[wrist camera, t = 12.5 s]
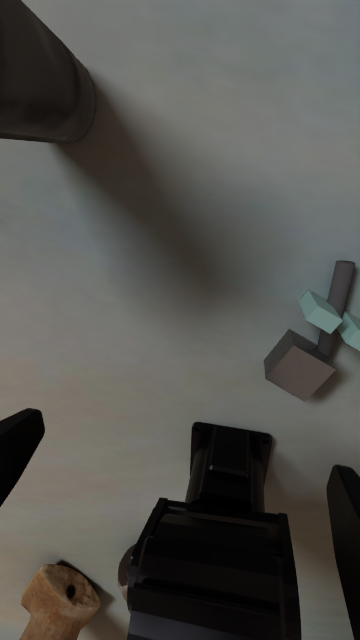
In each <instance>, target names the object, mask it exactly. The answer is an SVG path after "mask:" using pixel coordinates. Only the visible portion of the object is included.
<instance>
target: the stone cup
mask: <svg viewBox="0 0 360 640" xmlns="http://www.w3.org/2000/svg"><path fill="white" fill-rule="evenodd" d="M21 604H22V606H23V607H24V608H25V609H26V610H27V611H29V612H30V613H31V617H30V621H29V623H28V625H27V627H26V629H25V631H24V632H23V634H22V636H21V638H20V640H77V638H78V635H79V632H80V630H81V629H82V628H83V627H84V626H85V625H86V624H87V623H88V621H89V620H90V619H91V618H92V616H93V615H94V614H95V612H96V611H97V610H98V609H99V608H100V606H101V601H100V599H99V597H98V595H97V594H96V592H95V591H94V589H93V587H92V586H91V585H90V583H89V582H88V581H87V579H86V578H85V577H84V576H83V575H82V574H80V573H78V572H77V571H75V570H74V569H70V568H69V567H65V566H61V565H53V564H46V565H43V566H42V567H41V568H40V569H39V570H38V571H37V572H36V573H35V575H34V576H33V578H32V579H31V581H30V582H29V584H28V586H27V587H26V589H25V591H24V593H23V595H22V598H21Z"/></svg>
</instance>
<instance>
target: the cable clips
mask: <svg viewBox="0 0 360 640" xmlns="http://www.w3.org/2000/svg"><path fill="white" fill-rule="evenodd" d="M299 305H300V307H301V309H302V312H303V314H304V316H305V319H306V320H307V321H309V322H310V323H312V324H314V325H316V326H317V327H319V328H321V329H323V330H324V331H326V332H328V333H329V334H331V333H332V332H333V331H334V330H335V329H336V327H337V330H338V331H339V333H340V334H341V336H342V338H343V339H344V341H345V343H347V344H349V345H350V346H352V347H354V348H356V349H357V350H359V351H360V319H358V318H356V317H355V316H353V315H351V314H350V313H348V312H346V311H343V314H342V318H341V317H340V316H339V314H338V313H337V312H336V310H335V309H334V307H332V306H331V305H330V304H329V303H328V302H327V300H325V299H324V298H322V297H320V296H318V295H317V294H315V293H313V292H311V291H310V290H308V291H307V292H306V293H305V295H304V296H303V297H302V298H301V300H300V301H299Z"/></svg>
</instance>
